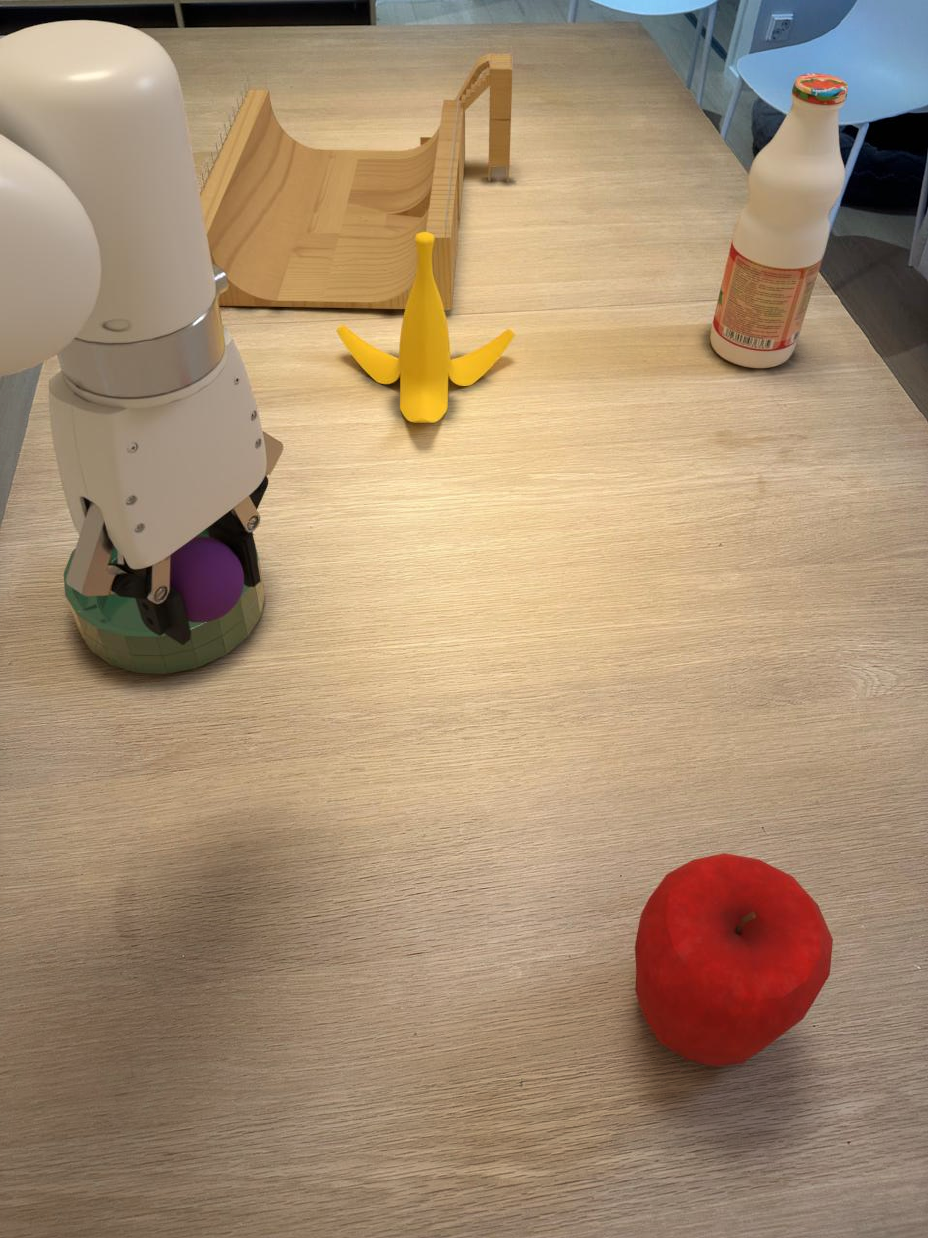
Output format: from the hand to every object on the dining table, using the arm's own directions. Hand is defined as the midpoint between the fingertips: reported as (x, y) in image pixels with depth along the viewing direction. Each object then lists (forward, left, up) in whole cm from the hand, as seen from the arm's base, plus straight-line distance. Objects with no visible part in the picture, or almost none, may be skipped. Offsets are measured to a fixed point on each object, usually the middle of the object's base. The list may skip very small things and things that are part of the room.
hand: (204, 600), depth 60 cm
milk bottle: (+73, +20, -20) cm, 78 cm away
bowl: (+3, +19, -20) cm, 27 cm away
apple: (+16, -31, -20) cm, 40 cm away
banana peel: (+37, +32, -20) cm, 53 cm away
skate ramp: (+51, +66, -20) cm, 86 cm away
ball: (0, 0, +2) cm, 2 cm away
